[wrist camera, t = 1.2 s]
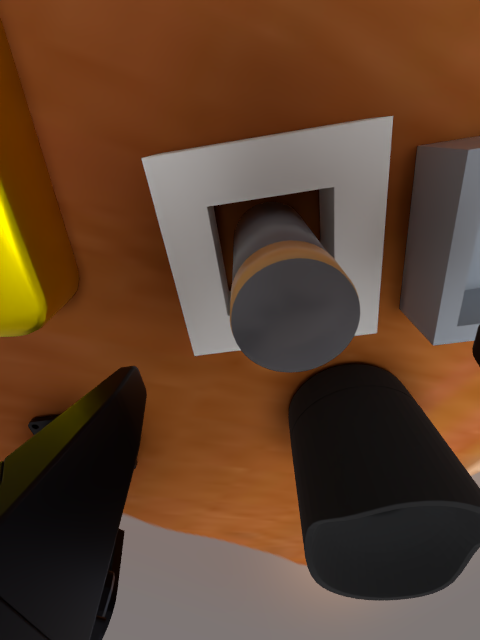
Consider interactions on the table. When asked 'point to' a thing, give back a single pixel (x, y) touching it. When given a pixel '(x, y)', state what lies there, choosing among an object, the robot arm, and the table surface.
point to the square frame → (267, 181)
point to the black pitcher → (378, 488)
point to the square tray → (444, 243)
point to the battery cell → (288, 293)
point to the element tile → (28, 218)
